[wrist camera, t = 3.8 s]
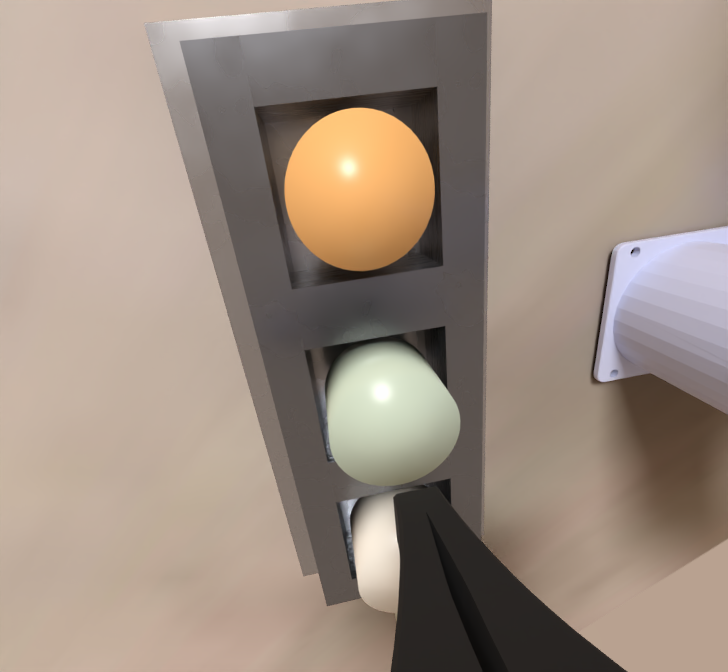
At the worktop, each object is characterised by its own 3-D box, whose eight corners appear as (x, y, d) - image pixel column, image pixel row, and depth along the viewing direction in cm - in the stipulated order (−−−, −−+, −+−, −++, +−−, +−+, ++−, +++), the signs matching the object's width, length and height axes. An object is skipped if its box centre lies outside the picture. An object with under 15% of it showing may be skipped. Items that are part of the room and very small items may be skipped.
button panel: (479, 5, 14) (542, -61, 10) (477, 522, 25) (506, 580, 21) (155, 34, 13) (94, -27, 9) (303, 561, 24) (303, 629, 20)
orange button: (403, 118, 14) (431, 99, 11) (411, 245, 16) (437, 259, 13) (277, 133, 13) (268, 117, 10) (301, 261, 15) (300, 280, 12)
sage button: (428, 327, 15) (459, 363, 12) (433, 420, 17) (461, 471, 14) (316, 347, 15) (318, 389, 12) (333, 439, 17) (340, 497, 14)
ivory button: (436, 471, 18) (462, 528, 15) (439, 536, 20) (463, 599, 17) (343, 490, 18) (351, 554, 15) (356, 555, 20) (365, 622, 17)
